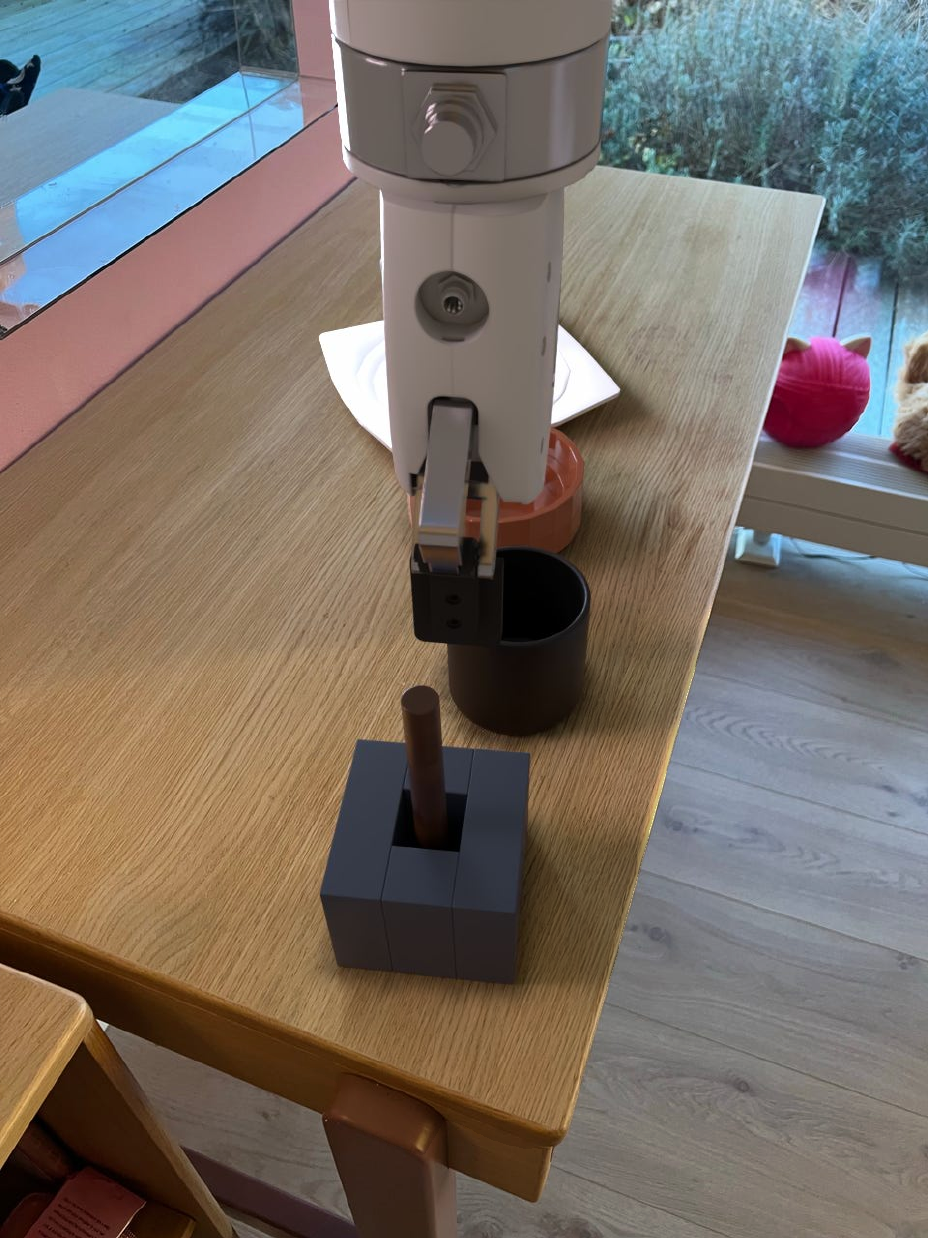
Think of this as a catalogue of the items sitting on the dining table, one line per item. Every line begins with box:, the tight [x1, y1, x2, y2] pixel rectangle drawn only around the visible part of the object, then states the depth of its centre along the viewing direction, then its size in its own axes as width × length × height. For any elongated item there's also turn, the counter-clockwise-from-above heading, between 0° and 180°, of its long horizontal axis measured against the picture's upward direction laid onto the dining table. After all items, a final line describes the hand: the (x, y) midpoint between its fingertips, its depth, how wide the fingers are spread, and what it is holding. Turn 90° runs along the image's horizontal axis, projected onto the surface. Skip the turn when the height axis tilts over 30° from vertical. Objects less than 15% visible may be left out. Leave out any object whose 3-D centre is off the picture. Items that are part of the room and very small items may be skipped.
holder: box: [319, 738, 531, 985], centre depth 57 cm, size 10×10×8 cm
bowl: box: [406, 427, 585, 554], centre depth 82 cm, size 14×14×6 cm
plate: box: [318, 319, 621, 453], centre depth 97 cm, size 24×24×3 cm
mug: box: [446, 546, 592, 736], centre depth 68 cm, size 9×12×9 cm
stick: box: [400, 684, 449, 851], centre depth 53 cm, size 2×2×18 cm
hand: (473, 552), depth 40 cm, fingers open, 9 cm apart
